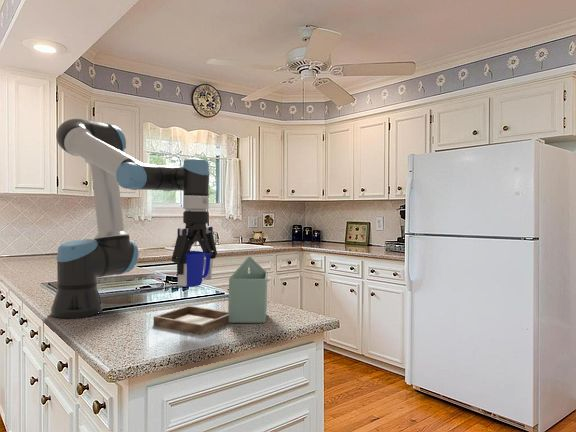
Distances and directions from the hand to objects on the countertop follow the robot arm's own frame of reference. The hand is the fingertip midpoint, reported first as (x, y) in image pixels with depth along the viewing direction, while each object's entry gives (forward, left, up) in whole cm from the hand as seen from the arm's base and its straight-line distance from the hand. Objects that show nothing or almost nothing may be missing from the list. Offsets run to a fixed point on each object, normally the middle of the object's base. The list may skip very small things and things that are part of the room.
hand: (195, 282), depth 134 cm
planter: (+14, +12, -13) cm, 23 cm away
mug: (0, 0, -1) cm, 1 cm away
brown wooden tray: (0, 0, -13) cm, 13 cm away
